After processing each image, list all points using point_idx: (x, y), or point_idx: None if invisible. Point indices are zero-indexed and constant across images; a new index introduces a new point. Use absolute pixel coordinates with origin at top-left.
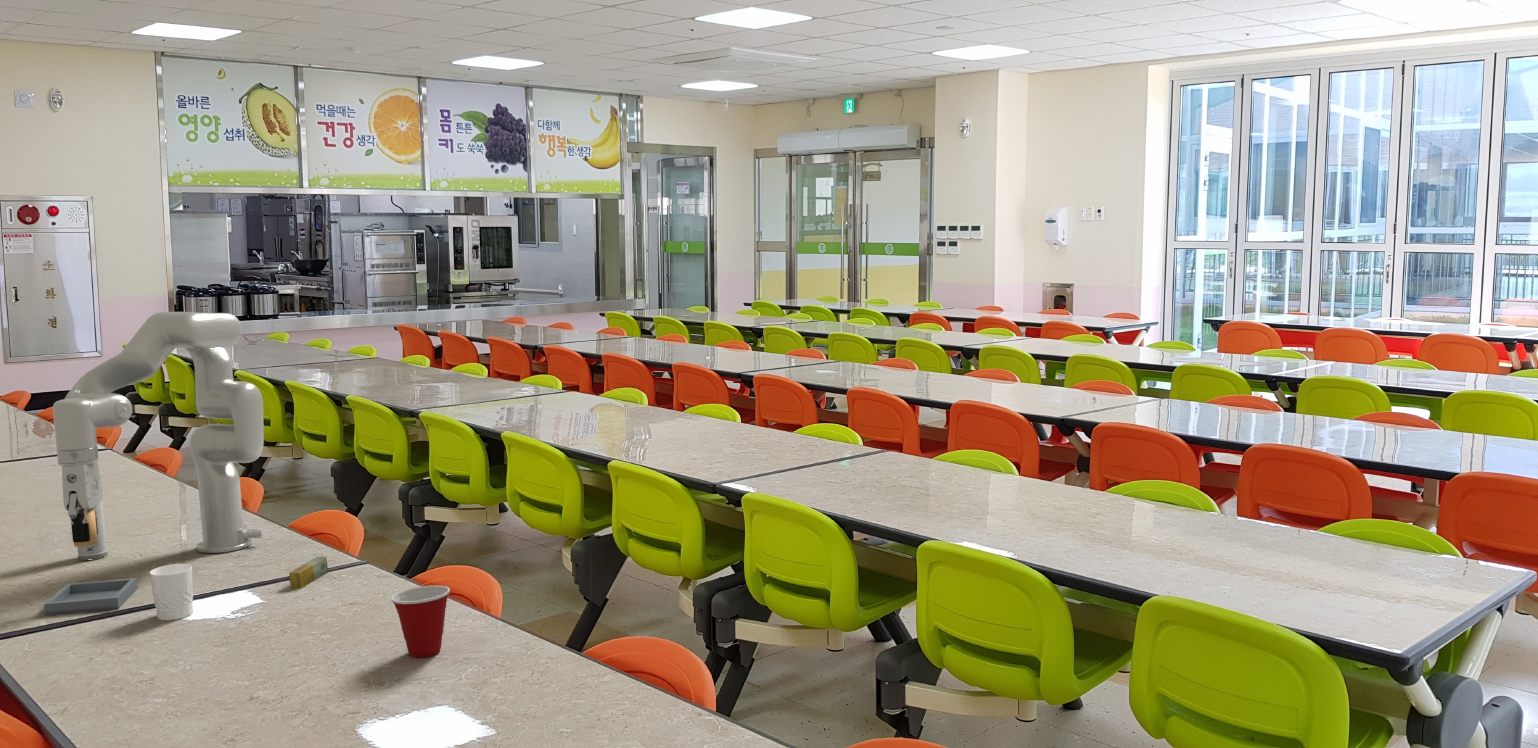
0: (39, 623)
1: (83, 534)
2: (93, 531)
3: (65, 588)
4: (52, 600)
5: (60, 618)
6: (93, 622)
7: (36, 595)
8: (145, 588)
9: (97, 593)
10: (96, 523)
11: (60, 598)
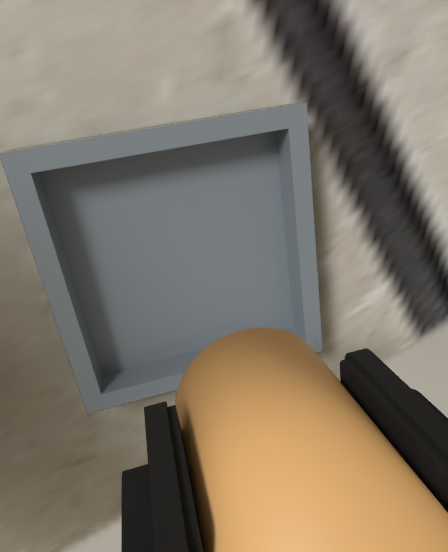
0: (374, 306)
1: (432, 405)
2: (320, 390)
3: (147, 386)
4: None
5: (344, 269)
6: (414, 131)
7: (91, 478)
8: (3, 111)
9: (113, 276)
10: (173, 483)
11: None
